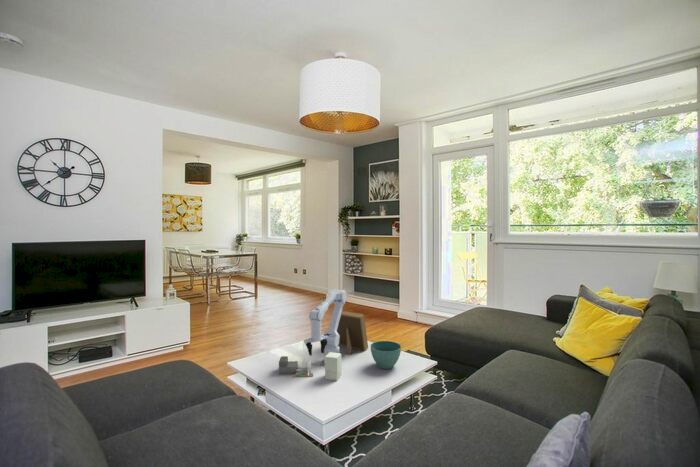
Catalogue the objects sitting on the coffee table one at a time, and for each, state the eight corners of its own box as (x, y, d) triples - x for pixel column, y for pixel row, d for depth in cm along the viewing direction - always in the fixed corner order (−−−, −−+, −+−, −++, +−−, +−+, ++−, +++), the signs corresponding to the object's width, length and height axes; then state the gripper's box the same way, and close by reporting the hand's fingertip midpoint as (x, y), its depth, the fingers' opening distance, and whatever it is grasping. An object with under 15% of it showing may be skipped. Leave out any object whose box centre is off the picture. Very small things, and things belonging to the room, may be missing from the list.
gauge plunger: (311, 367, 206) (311, 361, 206) (309, 376, 194) (309, 369, 194) (292, 367, 206) (292, 361, 206) (290, 376, 194) (290, 370, 194)
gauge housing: (297, 367, 206) (297, 356, 206) (295, 373, 198) (295, 361, 198) (281, 368, 206) (281, 356, 206) (278, 374, 198) (278, 361, 198)
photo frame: (341, 342, 248) (341, 308, 247) (368, 349, 237) (368, 312, 236) (329, 349, 236) (328, 313, 235) (356, 356, 224) (356, 317, 223)
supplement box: (341, 375, 196) (342, 353, 196) (337, 381, 189) (337, 358, 189) (329, 373, 199) (329, 351, 198) (324, 379, 192) (324, 356, 191)
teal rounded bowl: (365, 369, 205) (365, 348, 204) (376, 358, 221) (376, 338, 221) (395, 375, 197) (395, 353, 197) (404, 363, 214) (404, 343, 213)
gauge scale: (313, 373, 198) (313, 373, 198) (312, 376, 195) (312, 376, 195) (293, 374, 198) (293, 373, 198) (292, 377, 194) (292, 376, 194)
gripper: (324, 326, 210) (324, 349, 210) (301, 330, 203) (302, 354, 203) (329, 330, 204) (329, 353, 204) (306, 334, 196) (307, 358, 197)
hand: (316, 353), depth 203 cm, fingers open, 7 cm apart
